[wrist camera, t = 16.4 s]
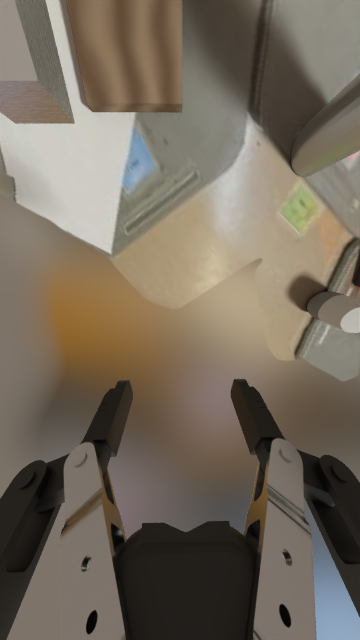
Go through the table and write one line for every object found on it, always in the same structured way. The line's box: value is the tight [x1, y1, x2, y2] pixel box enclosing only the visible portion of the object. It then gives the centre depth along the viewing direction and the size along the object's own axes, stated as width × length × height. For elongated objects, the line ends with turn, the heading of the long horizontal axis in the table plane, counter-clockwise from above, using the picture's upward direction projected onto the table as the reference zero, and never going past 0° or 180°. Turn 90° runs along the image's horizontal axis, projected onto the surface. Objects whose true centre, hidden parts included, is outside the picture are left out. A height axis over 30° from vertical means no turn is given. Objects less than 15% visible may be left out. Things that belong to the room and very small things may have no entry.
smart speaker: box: [307, 292, 360, 333], centre depth 43 cm, size 10×9×14 cm
